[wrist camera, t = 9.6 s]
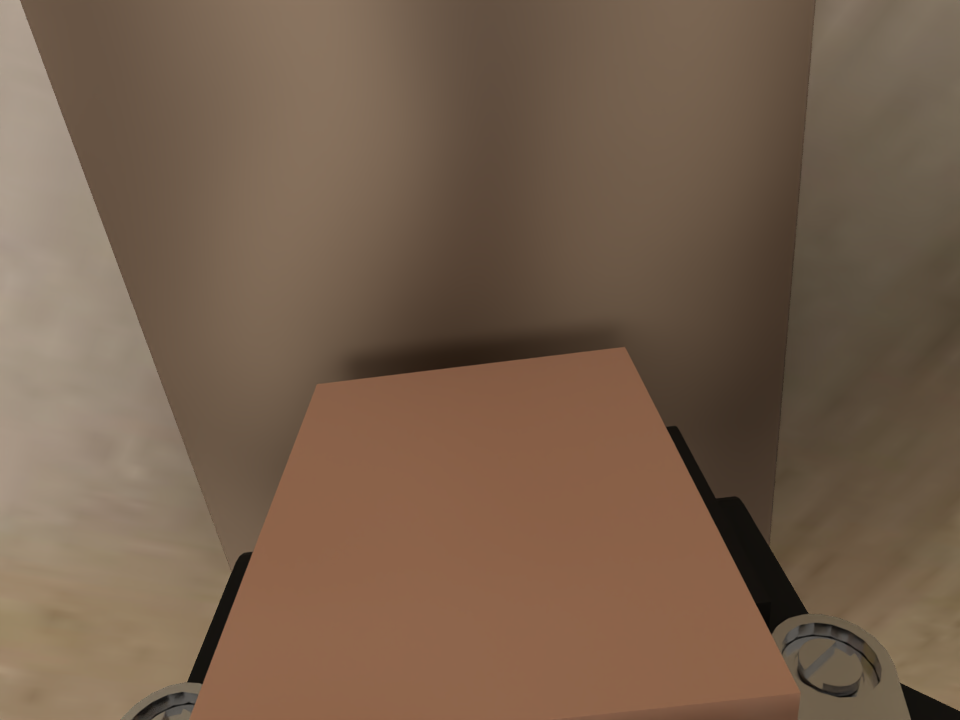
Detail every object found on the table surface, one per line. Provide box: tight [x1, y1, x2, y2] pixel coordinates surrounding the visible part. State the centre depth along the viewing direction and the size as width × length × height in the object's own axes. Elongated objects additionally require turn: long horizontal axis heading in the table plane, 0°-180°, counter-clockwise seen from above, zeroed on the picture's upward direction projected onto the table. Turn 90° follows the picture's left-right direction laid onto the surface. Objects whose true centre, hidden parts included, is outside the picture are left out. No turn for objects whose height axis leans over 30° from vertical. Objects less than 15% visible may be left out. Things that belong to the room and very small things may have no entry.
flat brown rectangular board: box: [20, 0, 816, 572], centre depth 12 cm, size 12×18×7 cm, turn 7°
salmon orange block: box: [189, 347, 801, 720], centre depth 10 cm, size 5×5×7 cm
